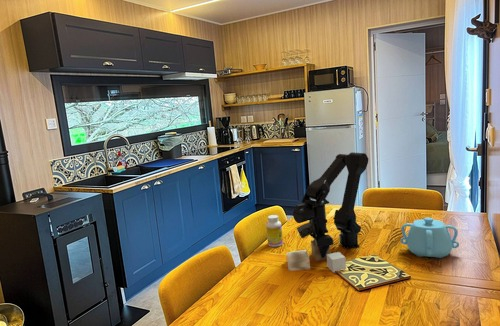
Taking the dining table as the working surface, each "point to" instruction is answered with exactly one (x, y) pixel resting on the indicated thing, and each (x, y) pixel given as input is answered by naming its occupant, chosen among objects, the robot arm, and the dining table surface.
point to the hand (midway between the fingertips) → (320, 254)
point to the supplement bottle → (274, 231)
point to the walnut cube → (318, 252)
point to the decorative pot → (429, 238)
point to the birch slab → (298, 261)
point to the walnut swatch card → (300, 251)
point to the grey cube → (336, 261)
